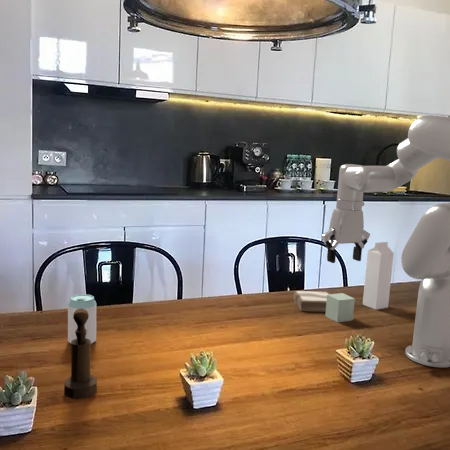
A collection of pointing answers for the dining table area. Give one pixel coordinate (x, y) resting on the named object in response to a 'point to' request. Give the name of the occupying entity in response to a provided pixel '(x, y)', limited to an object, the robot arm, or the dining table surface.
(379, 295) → the milk
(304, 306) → the plinth
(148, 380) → the dining table surface
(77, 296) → the can
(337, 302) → the block
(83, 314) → the dark brown tall piece
